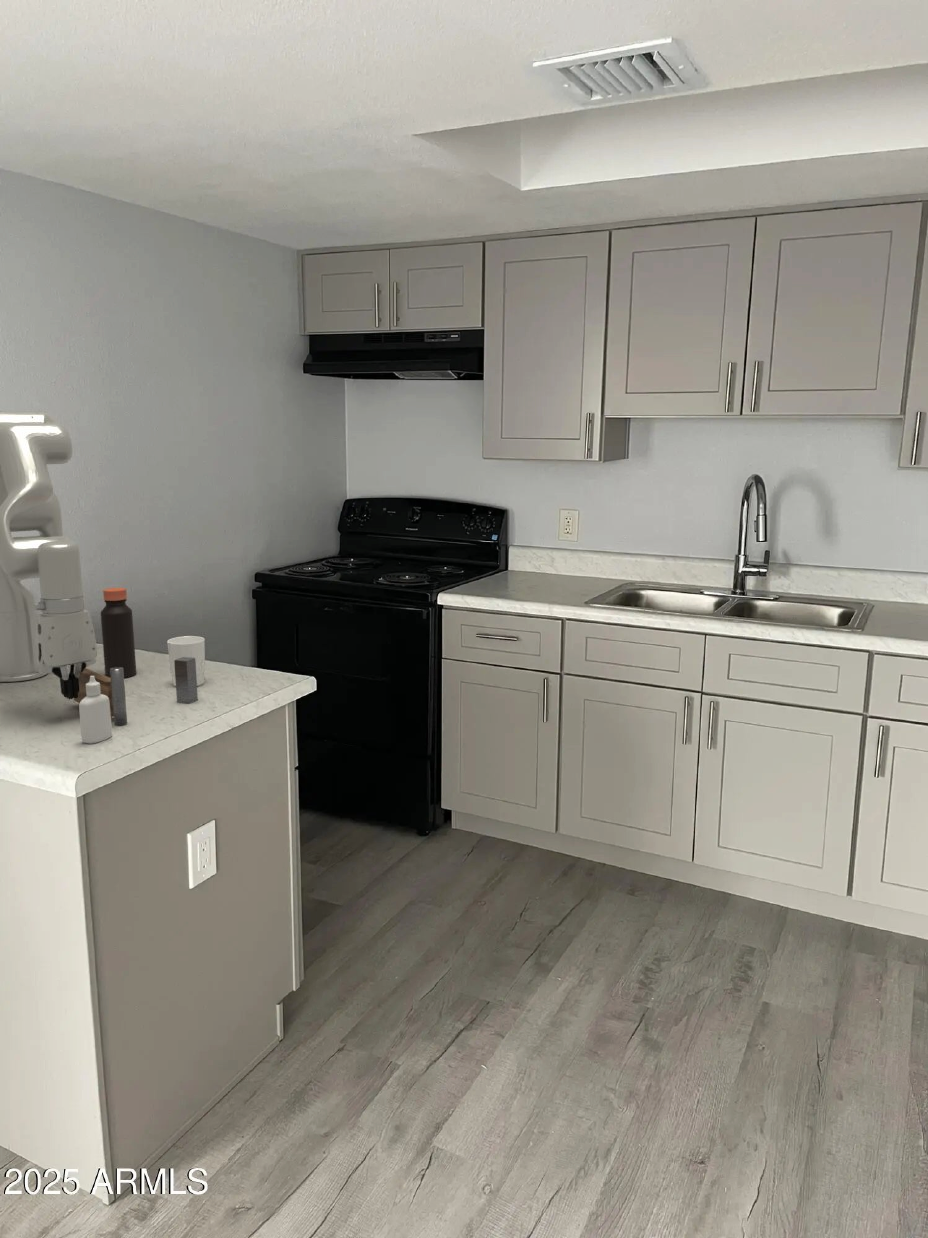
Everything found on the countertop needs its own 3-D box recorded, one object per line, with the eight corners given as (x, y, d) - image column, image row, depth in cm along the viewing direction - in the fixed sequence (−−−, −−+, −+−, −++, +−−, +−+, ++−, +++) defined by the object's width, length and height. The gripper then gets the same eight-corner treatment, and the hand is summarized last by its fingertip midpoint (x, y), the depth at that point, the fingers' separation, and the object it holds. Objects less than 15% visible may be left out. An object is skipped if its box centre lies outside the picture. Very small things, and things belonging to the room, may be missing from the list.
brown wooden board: (109, 717, 187) (106, 682, 185) (73, 700, 198) (70, 667, 196) (119, 715, 188) (116, 680, 187) (83, 698, 199) (80, 666, 198)
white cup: (196, 689, 210) (194, 644, 208) (163, 687, 211) (160, 643, 209) (213, 680, 217) (210, 636, 215) (180, 678, 219) (178, 635, 217)
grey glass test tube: (111, 725, 185) (107, 669, 183) (119, 721, 187) (115, 666, 185) (121, 726, 184) (117, 670, 182) (130, 722, 187) (125, 667, 184)
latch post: (176, 702, 200) (174, 660, 198) (185, 698, 203) (183, 656, 201) (189, 703, 199) (186, 661, 197) (197, 699, 202) (195, 657, 200)
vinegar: (99, 678, 219) (92, 591, 215) (114, 670, 225) (108, 586, 221) (127, 679, 218) (121, 592, 214) (142, 672, 224) (136, 587, 220)
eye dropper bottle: (78, 739, 177) (72, 676, 175) (109, 733, 180) (104, 671, 178) (84, 745, 174) (78, 681, 171) (116, 739, 177) (111, 676, 174)
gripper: (31, 613, 178) (40, 709, 182) (109, 603, 188) (115, 693, 192) (15, 608, 183) (24, 701, 187) (92, 598, 193) (99, 686, 197)
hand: (70, 697), depth 189 cm, fingers closed
